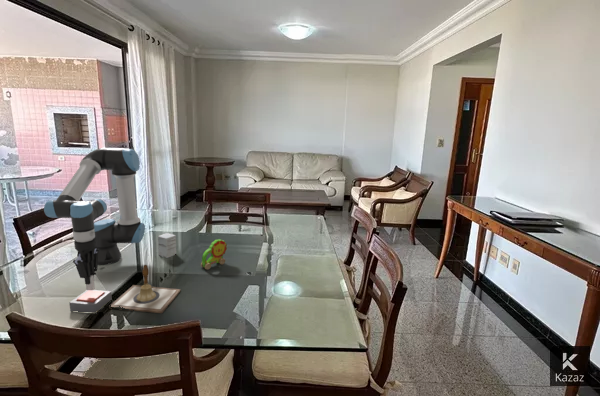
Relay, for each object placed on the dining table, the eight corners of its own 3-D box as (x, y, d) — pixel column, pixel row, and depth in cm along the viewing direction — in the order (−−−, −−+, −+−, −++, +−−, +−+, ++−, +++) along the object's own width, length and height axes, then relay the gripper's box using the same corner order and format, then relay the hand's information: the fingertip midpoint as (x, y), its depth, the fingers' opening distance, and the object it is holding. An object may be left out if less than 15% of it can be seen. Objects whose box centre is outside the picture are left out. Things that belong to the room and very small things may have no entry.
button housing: (70, 311, 137) (69, 302, 136) (88, 298, 148) (87, 289, 147) (95, 314, 136) (94, 304, 135) (111, 300, 147) (111, 291, 146)
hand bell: (150, 290, 155) (149, 259, 151) (159, 296, 150) (158, 265, 146) (133, 296, 149) (131, 265, 145) (141, 304, 144) (139, 271, 140)
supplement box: (158, 255, 195) (157, 235, 192) (168, 251, 202) (167, 232, 199) (166, 258, 192) (166, 238, 189) (176, 254, 198) (176, 234, 195)
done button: (77, 305, 138) (76, 299, 137) (89, 296, 145) (88, 290, 144) (93, 306, 138) (93, 300, 137) (104, 297, 145) (104, 291, 144)
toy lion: (205, 271, 180) (205, 245, 176) (200, 267, 183) (199, 242, 180) (228, 262, 192) (228, 238, 188) (222, 259, 195) (223, 236, 192)
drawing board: (108, 308, 141) (108, 306, 141) (133, 286, 160) (133, 284, 159) (162, 313, 140) (161, 311, 140) (180, 290, 158) (180, 288, 158)
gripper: (82, 245, 128) (88, 298, 134) (103, 234, 141) (108, 282, 147) (64, 244, 128) (71, 296, 134) (87, 232, 141) (92, 281, 147)
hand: (90, 289), depth 141 cm, fingers closed
